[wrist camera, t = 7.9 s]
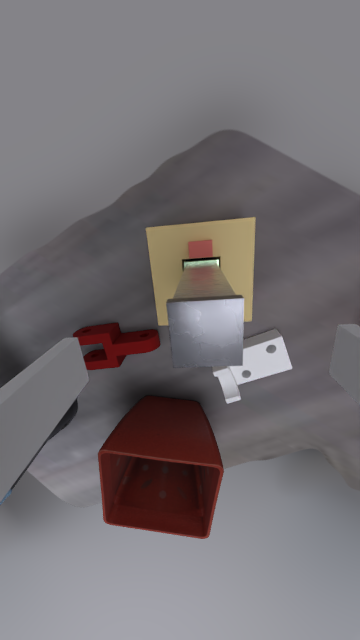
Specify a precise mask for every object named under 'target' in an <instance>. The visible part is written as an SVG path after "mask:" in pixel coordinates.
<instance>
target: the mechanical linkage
mask: <svg viewBox="0 0 360 640" xmlns="http://www.w3.org/2000/svg"><path fill="white" fill-rule="evenodd" d="M73 337H74V338H75V337H78V341H79V344H80V345H90V344H98V343H102V344H103V347H104V349H100V350H94V351H91V352H89V353H88V354H86V355H85V356H84V357H83V359H84V362H85V366H86V369H87V370H96V369H105V368H115V367H120V365H121V364H122V362H123V360H124V359H125V357H126V355H130V354H138V353H146V352H150V351H153V350H155V349H157V348H158V347H159V346H160V339H159V335H158V331H157V330H154V329H151V330H144V331H136V332H128V333H121V331H120V328H119V324H118V323H111V324H104V325H96V326H89V327H85V328H82V329H80V330H78V331H76V332H75V333H74V334H73Z"/></svg>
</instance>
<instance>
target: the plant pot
mask: <svg viewBox="0 0 360 640" xmlns="http://www.w3.org/2000/svg"><path fill="white" fill-rule="evenodd" d="M98 461H99V472H100V483H101V493H102V505H103V519H104V521H105V523H107V524H110V525H115V526H122V527H128V528H135V529H142V530H148V531H155V532H161V533H167V534H174V535H180V536H187V537H194V538H200V539H205V538H208V537H209V535H210V530H211V525H212V520H213V515H214V510H215V506H216V502H217V498H218V493H219V489H220V484H221V481H222V477H223V473H224V469H223V464H222V460H221V456H220V452H219V449H218V446H217V442H216V439H215V436H214V433H213V431H212V428H211V426H210V423H209V421H208V419H207V417H206V414H205V412H204V411H203V409H202V407H201V405H200V404H199V403H198V402H196V401H189V400H181V399H173V398H164V397H156V396H145V397H143V398H142V399H141V400H140V401H139V402H138V403H137V404H136V405H134V406H133V407H132V409H131V410H130V411H129V412H128V413H127V414H126V415H125V416H124V417H123V418H122V420H121V421H120V422H119V423H118V425H117V426H116V427H115V429H114V430H113V431H112V433H111V434H110V435H109V437H108V438H107V440H106V441H105V443H104V444H103V446H102V447H101V449H100V450H99V452H98Z"/></svg>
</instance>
